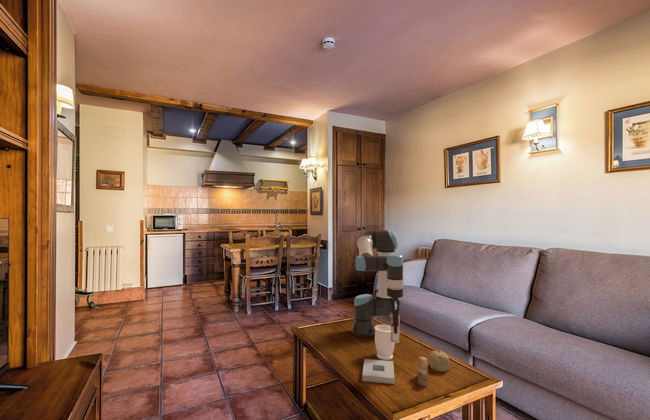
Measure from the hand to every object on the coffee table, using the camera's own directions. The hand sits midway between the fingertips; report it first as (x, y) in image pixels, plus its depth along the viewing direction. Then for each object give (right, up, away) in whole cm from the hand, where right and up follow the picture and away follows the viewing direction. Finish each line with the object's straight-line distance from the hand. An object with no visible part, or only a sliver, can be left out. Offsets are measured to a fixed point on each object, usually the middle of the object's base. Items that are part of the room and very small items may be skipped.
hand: (395, 337), depth 143 cm
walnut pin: (+10, -16, -10) cm, 21 cm away
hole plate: (-8, -16, 0) cm, 18 cm away
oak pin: (+12, -16, -3) cm, 21 cm away
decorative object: (+23, -17, +5) cm, 29 cm away
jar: (-2, -17, +17) cm, 24 cm away
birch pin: (0, -2, 0) cm, 2 cm away
